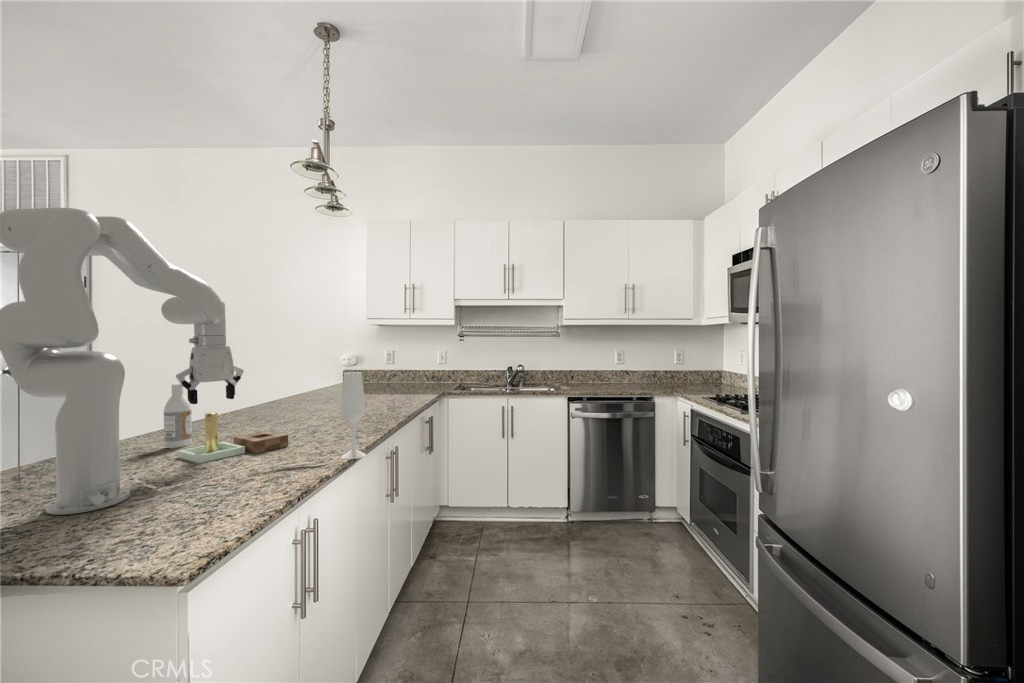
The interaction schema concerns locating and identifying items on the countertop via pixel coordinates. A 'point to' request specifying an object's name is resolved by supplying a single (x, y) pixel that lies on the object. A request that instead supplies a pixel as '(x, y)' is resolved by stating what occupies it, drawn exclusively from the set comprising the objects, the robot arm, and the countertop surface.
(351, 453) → the champagne flute
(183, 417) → the bath foam
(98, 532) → the countertop surface
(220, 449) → the tray
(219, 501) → the countertop surface
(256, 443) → the bore block
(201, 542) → the countertop surface
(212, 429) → the gold cylinder
